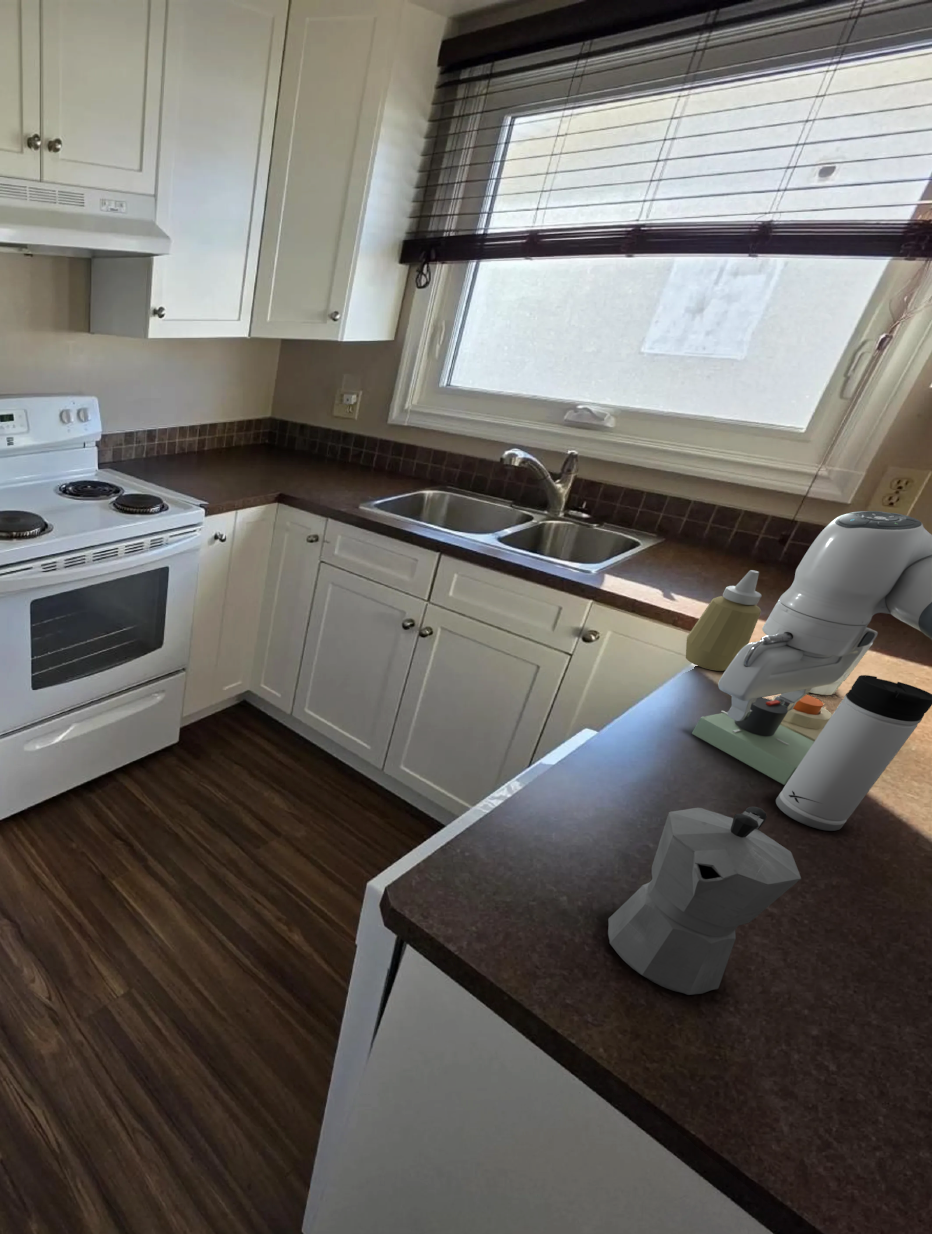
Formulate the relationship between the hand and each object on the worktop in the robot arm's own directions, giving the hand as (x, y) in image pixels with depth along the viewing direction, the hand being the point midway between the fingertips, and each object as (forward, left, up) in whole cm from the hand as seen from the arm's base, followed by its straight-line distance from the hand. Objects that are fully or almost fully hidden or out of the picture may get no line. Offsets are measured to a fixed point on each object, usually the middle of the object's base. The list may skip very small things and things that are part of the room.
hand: (758, 713), depth 98 cm
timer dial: (0, 0, -2) cm, 2 cm away
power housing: (0, -12, -5) cm, 13 cm away
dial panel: (-2, 0, -5) cm, 6 cm away
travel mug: (-13, +9, -5) cm, 17 cm away
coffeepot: (-22, +48, -5) cm, 53 cm away
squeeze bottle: (+19, -21, -6) cm, 29 cm away
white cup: (+9, -31, -5) cm, 33 cm away
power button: (+1, -12, -2) cm, 12 cm away
